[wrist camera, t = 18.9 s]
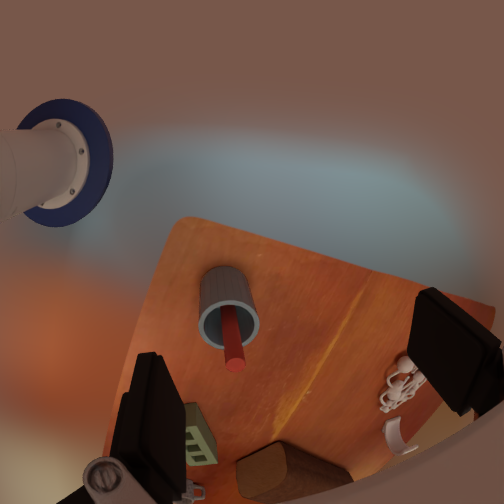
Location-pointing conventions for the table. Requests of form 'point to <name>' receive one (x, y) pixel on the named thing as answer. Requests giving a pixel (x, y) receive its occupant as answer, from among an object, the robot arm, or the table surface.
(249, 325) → the grey pencil cup
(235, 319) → the red cylindrical rod
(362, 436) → the table surface
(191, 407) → the rack
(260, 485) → the bread
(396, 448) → the headphone stand
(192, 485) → the mug
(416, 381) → the tangled rod sculpture
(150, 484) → the robot arm
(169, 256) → the table surface
